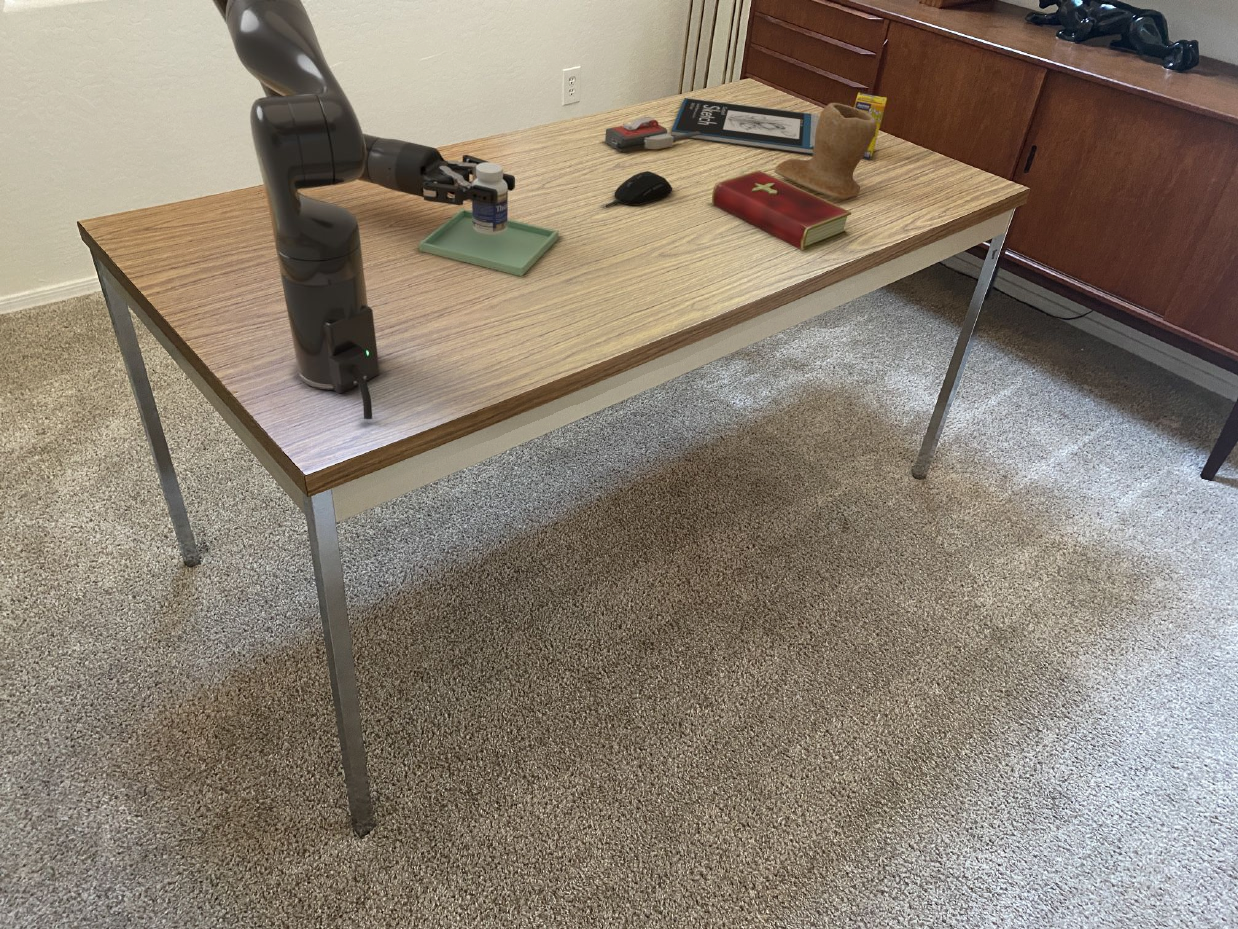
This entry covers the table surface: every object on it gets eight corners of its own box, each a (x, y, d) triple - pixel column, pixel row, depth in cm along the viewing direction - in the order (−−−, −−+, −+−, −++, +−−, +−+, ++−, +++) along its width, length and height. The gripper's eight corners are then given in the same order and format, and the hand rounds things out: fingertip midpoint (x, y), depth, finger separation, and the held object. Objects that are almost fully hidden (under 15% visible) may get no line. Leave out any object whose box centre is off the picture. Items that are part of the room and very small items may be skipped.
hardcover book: (801, 251, 148) (807, 227, 145) (710, 205, 159) (714, 182, 157) (846, 233, 154) (852, 210, 152) (755, 190, 166) (759, 168, 163)
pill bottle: (501, 238, 137) (501, 176, 131) (468, 232, 138) (466, 170, 131) (512, 224, 141) (512, 163, 135) (479, 218, 142) (478, 157, 136)
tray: (558, 238, 145) (558, 230, 144) (521, 276, 134) (521, 268, 133) (462, 215, 148) (462, 208, 148) (419, 250, 138) (419, 242, 137)
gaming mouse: (594, 200, 157) (595, 178, 154) (654, 182, 165) (656, 161, 163) (618, 213, 154) (620, 191, 151) (678, 194, 162) (681, 172, 159)
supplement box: (841, 155, 183) (854, 100, 176) (844, 145, 188) (857, 91, 181) (871, 160, 182) (885, 105, 175) (873, 150, 187) (887, 96, 180)
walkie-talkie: (624, 158, 173) (702, 141, 183) (626, 135, 170) (705, 120, 180) (597, 143, 178) (674, 127, 188) (599, 120, 175) (677, 106, 185)
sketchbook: (683, 103, 201) (684, 94, 199) (817, 122, 198) (819, 112, 197) (670, 136, 184) (671, 125, 183) (816, 156, 182) (819, 146, 180)
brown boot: (872, 193, 169) (894, 112, 159) (835, 208, 162) (856, 125, 153) (808, 167, 177) (825, 88, 167) (770, 180, 170) (786, 99, 160)
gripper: (378, 158, 130) (483, 182, 127) (427, 128, 141) (525, 150, 138) (383, 207, 135) (484, 232, 132) (430, 175, 146) (525, 197, 142)
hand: (505, 190), depth 135 cm, fingers closed on pill bottle, 5 cm apart
